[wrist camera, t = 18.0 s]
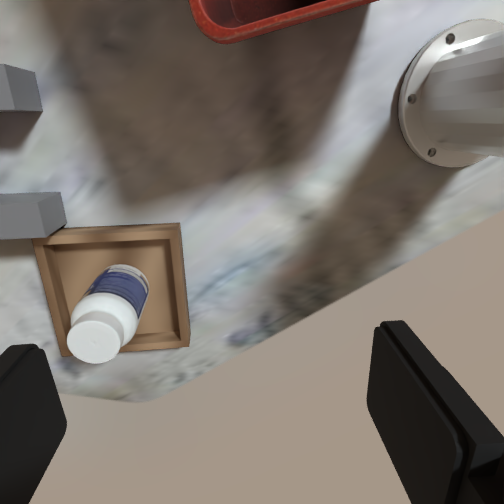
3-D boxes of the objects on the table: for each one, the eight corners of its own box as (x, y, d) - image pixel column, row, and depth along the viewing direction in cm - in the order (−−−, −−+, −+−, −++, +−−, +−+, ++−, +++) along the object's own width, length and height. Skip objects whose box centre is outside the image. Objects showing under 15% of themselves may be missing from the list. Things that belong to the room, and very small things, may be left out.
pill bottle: (98, 258, 34) (56, 308, 25) (153, 267, 35) (132, 317, 26) (94, 306, 36) (55, 368, 27) (147, 312, 37) (126, 374, 28)
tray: (180, 222, 35) (177, 230, 32) (190, 333, 39) (189, 346, 37) (43, 228, 33) (31, 236, 31) (71, 342, 38) (61, 356, 36)
